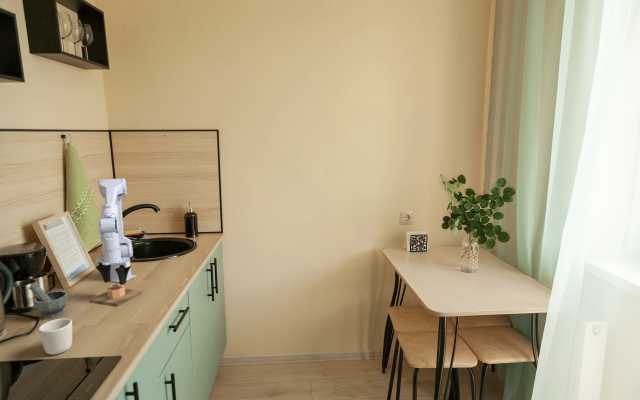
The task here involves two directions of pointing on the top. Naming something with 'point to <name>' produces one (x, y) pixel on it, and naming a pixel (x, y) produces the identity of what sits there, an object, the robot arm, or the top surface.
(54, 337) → the cup
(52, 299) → the mortar and pestle
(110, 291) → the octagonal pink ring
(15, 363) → the top surface
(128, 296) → the peg plate
